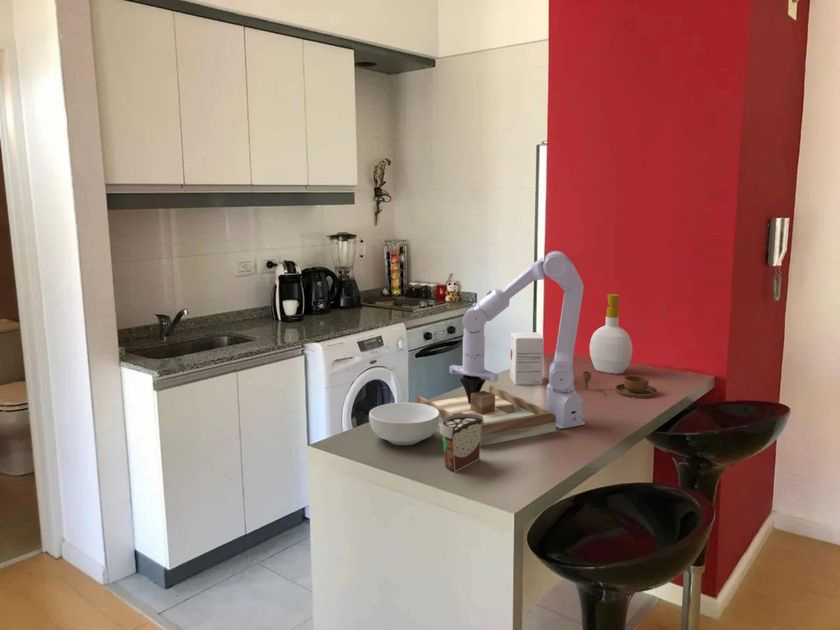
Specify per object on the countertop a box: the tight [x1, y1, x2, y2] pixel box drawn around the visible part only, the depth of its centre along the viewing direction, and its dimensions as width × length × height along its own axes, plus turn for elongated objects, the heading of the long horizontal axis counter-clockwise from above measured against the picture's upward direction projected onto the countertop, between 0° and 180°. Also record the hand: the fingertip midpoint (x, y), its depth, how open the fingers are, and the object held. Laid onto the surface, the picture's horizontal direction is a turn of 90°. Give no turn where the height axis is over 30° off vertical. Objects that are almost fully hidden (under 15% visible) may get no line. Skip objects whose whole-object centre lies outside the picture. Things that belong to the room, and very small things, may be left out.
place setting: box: [581, 370, 658, 399], centre depth 208 cm, size 18×20×6 cm
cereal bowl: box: [368, 402, 440, 446], centre depth 166 cm, size 17×17×7 cm
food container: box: [439, 414, 484, 473], centre depth 152 cm, size 12×6×10 cm, turn 141°
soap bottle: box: [589, 293, 633, 375], centre depth 228 cm, size 14×9×26 cm, turn 52°
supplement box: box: [509, 331, 545, 386], centre depth 217 cm, size 9×9×15 cm
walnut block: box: [470, 390, 495, 415], centre depth 180 cm, size 4×4×4 cm
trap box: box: [416, 385, 556, 447], centre depth 179 cm, size 29×24×5 cm
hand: (472, 403), depth 184 cm, fingers closed
